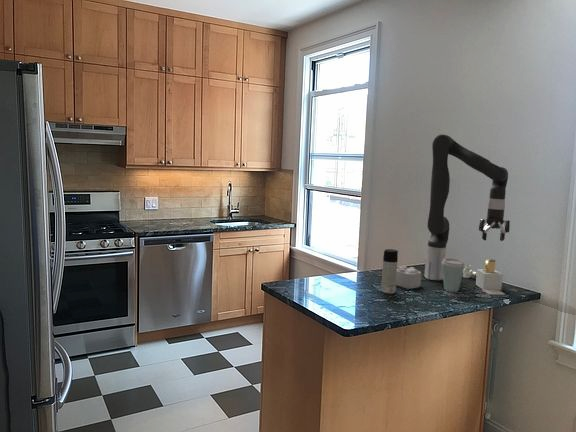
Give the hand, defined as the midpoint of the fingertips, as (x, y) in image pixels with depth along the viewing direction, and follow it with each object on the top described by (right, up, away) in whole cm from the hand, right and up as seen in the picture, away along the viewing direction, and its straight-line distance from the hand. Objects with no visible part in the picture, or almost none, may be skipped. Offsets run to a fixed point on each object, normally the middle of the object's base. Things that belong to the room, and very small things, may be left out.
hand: (492, 240), depth 236 cm
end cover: (-1, -21, +3) cm, 21 cm away
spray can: (-54, -24, -11) cm, 60 cm away
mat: (-2, -25, -6) cm, 26 cm away
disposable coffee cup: (-22, -24, -5) cm, 33 cm away
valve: (-3, -22, +19) cm, 29 cm away
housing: (-1, -24, +3) cm, 24 cm away
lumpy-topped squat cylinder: (-42, -23, +3) cm, 48 cm away
